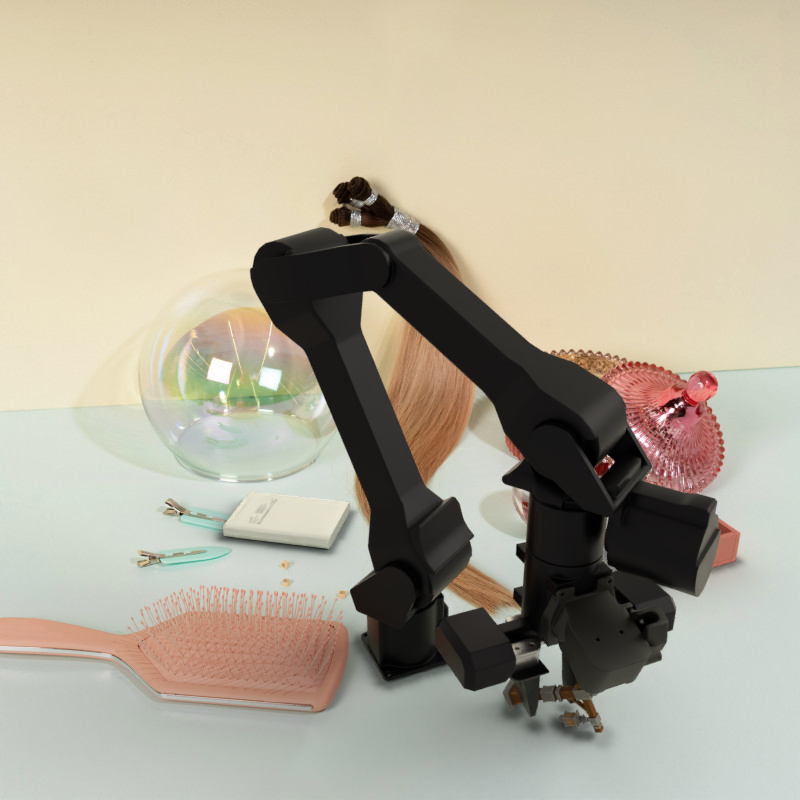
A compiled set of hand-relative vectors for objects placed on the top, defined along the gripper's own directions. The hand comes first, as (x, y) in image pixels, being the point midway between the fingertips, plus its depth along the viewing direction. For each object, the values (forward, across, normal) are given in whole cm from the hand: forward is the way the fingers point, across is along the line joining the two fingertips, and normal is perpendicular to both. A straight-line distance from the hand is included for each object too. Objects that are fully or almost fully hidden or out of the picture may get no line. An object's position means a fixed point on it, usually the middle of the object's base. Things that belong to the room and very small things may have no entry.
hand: (549, 706), depth 69 cm
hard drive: (+1, -12, +37) cm, 39 cm away
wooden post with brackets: (+1, 0, 0) cm, 1 cm away
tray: (+1, +24, +14) cm, 28 cm away
